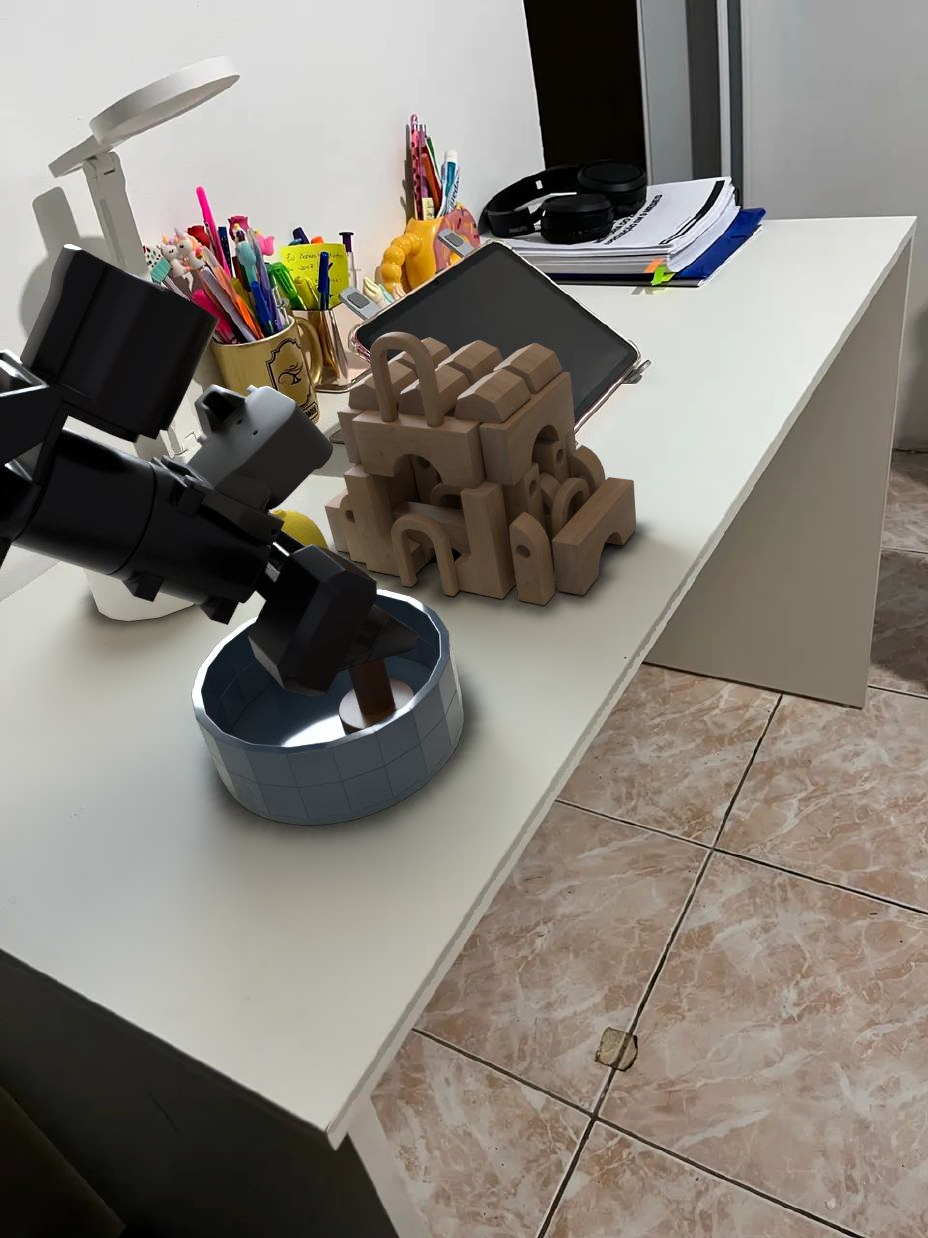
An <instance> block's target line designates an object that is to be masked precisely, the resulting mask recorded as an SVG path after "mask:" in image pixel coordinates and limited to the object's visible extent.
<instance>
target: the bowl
mask: <svg viewBox="0 0 928 1238" xmlns="http://www.w3.org/2000/svg"><path fill="white" fill-rule="evenodd" d="M374 604H375V605H376V606H378V607H380V608H381V609H383V610H384V611H386V612H387V613H389V614H391V615H392V616H394V617H395V618H397V619H398V620H400V621H401V622H403V623H404V624H406V625H407V626H409V627H410V628H412V629H414V630H415V631H416V632H418V633H419V638H418V640H417V642H416V644H415V646H414V647H413V649H412V650H411V651H409V652H406V653H402V654H398V655H395V656H391V657H387V658H384V662H385V666H386V670H387V674H388V677H389V678H390V679H396V680H400V681H403V682H405V683H406V684H408V685H409V686H410V687H411V688H412V690H413V691H414V694H415V696H414V697H413V698H412V699H411V700H410V701H409V702H408V703H407V704H406V705H405V706H404V707H402V708H401V709H399V710H397V711H396V712H394V713H393V714H391V715H389V716H388V717H386V718H384V719H383V720H381V721H380V722H378V723H376V724H375V725H373V726H371V727H369V728H366V729H363V730H360V731H358V732H355V733H352V734H351V733H350V732H348V731H347V730H346V729H345V728H344V727H343V725H342V723H341V720H340V717H339V713H338V709H339V705H340V702H341V700H342V699H343V697H344V696H345V695H346V694H347V693H348V692H349V691H350V690H352V689H353V685H352V681H351V678H350V674H349V671H348V669H347V670H345V671H342V672H340V673H337V675H336V677H335V679H334V681H333V683H332V685H331V687H330V689H329V691H328V693H327V694H324V695H322V696H320V697H317V698H315V697H311V696H307V695H304V694H300V693H296V692H292V691H288V690H285V689H284V688H283V687H282V686H281V685H280V684H279V683H278V682H277V681H276V679H275V678H274V677H273V676H272V675H271V674H270V673H269V672H268V671H267V670H266V668H265V667H264V666H263V665H262V664H261V663H260V662H259V661H258V660H257V659H256V657H255V655H254V652H253V649H252V646H251V643H250V641H249V638H248V635H249V633H250V631H251V629H252V627H253V625H254V623H255V621H256V619H257V617H258V615H256V616H255V617H253V618H250V619H249V620H247V621H245V622H244V623H242V624H241V625H240V626H239V627H237V628H236V629H234V631H232V632H231V633H230V634H229V635H227V636H226V637H224V638H223V639H222V640H221V641H220V642H219V643H217V644H216V646H215V647H214V648H213V649H212V651H211V652H210V653H209V655H207V657H206V659H205V660H204V661H203V662H202V664H201V665H199V666H200V667H199V668H198V670H197V673H196V676H195V680H194V683H193V686H192V689H191V693H190V696H191V702H192V707H193V712H194V717H195V720H196V722H197V725H198V727H199V730H200V732H201V735H202V737H203V739H204V741H205V744H206V746H207V749H208V751H209V753H210V755H211V757H212V761H213V763H214V765H215V767H216V770H217V772H218V775H219V778H220V780H221V781H222V782H223V783H224V786H225V787H226V789H227V790H228V792H229V793H230V795H231V796H232V798H234V799H235V801H236V802H237V803H239V804H240V805H242V807H244V808H245V809H247V810H248V811H250V812H252V813H254V814H256V815H257V816H260V817H261V818H265V819H268V820H270V821H274V822H278V823H283V824H289V825H297V826H298V825H300V826H321V825H332V824H338V823H343V822H347V821H353V820H356V819H357V820H358V819H360V818H363V817H366V816H370V815H372V814H375V813H378V812H380V811H383V810H385V809H387V808H389V807H391V806H393V805H395V804H398V803H400V802H401V801H403V800H405V799H406V798H408V797H409V796H411V795H413V794H414V793H415V792H418V790H420V789H421V788H422V787H423V786H424V785H426V784H427V783H428V782H430V781H431V780H432V779H433V778H434V777H435V776H436V775H437V774H438V773H439V772H440V771H441V770H442V769H443V768H444V767H445V765H446V764H447V762H448V761H449V760H450V758H451V757H452V755H453V753H454V751H455V750H456V748H457V746H458V744H459V741H460V738H461V736H462V731H463V728H464V706H463V699H462V698H463V697H462V691H461V685H460V679H459V675H458V669H457V665H456V661H455V655H454V651H453V645H452V640H451V636H450V635H451V634H450V631H449V630H448V628H447V627H446V625H445V624H444V622H443V620H442V619H441V618H440V616H439V613H438V612H436V610H434V609H432V608H430V607H429V606H428V605H426V604H424V603H423V602H421V601H419V600H418V599H416V598H415V597H413V596H409V595H405V594H402V593H398V592H395V591H394V592H393V591H391V590H386V589H378V588H377V599H376V600H375V602H374Z"/></svg>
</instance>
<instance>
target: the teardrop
mask: <svg viewBox="0 0 928 1238" xmlns="http://www.w3.org/2000/svg"><path fill="white" fill-rule="evenodd" d="M82 569H83V573H84V575H85V577H86V580H87V583H88V586H89V588H90V591H91V594H92V596H93V599H94V601H95V604H96V607H97V611H98V612H99V613H100V614H101V615H103V616H106V617H107V618H109V619H113V620H119V621H125V622H132V621H140V620H141V621H142V620H148V619H157V618H161V617H165V616H167V615H170V614H172V613H175V612H178V611H181V610H183V609H186V608H189V607H192V606H193V605H195V604H196V603H192V602H189V601H186V600H183V599H180V598H177V597H173V596H170V595H167V594H164V593H161V592H158V594H157V596H156V598H155V600H154V602H150V601H147V600H144V599H141V598H137V597H134V596H133V595H132V594H131V592H130V591H129V590H128V589H127V587H126V586H125V585H124V583H123V582H122V581H121V580H119V579H116V578H113V577H110V576H107V575H104V574H101V573H97V572H94V571H91V570H88V569H85V568H82Z"/></svg>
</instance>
